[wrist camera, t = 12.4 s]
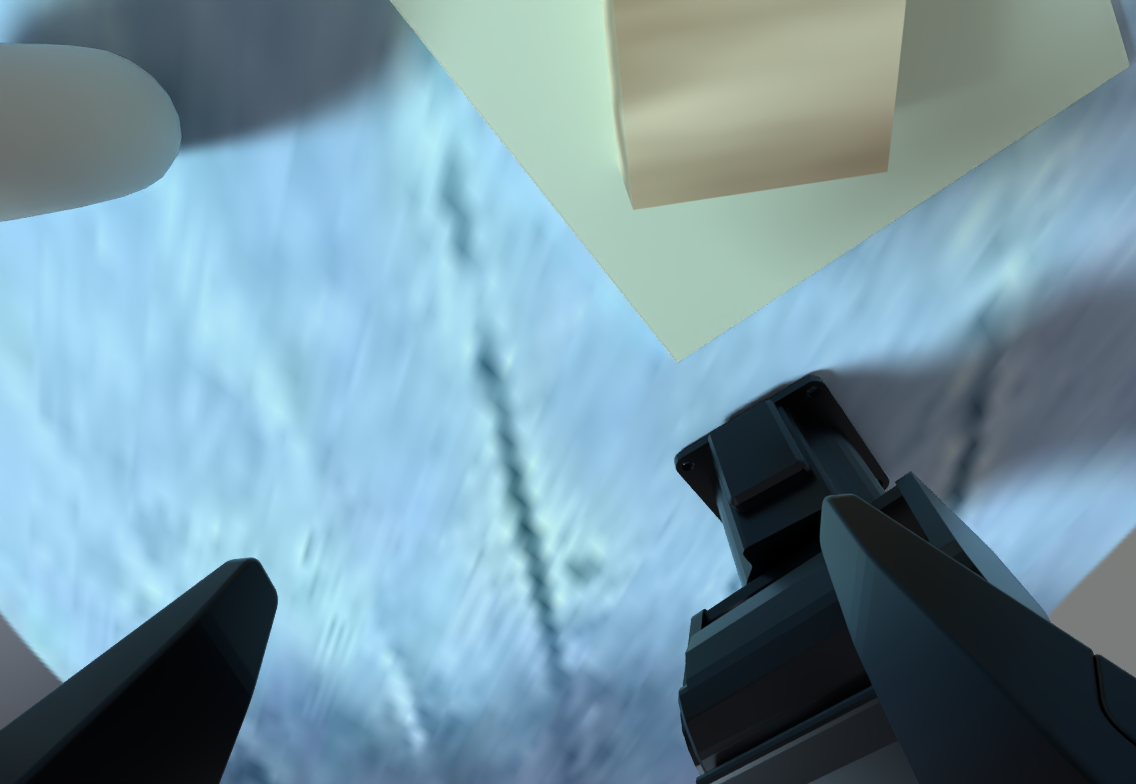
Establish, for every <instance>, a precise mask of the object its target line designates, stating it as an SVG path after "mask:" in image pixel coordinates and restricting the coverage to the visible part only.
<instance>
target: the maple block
mask: <svg viewBox="0 0 1136 784" xmlns="http://www.w3.org/2000/svg"><path fill="white" fill-rule="evenodd" d="M601 5H602V15H603V24H604V34H605V44H606V53H607V63H608V72H609V82H610V92H611V101H612V111H613V121H614V130H615V140H616V150H617V159H618V168H619V170H620V173H621V176H622V179H623V182H624V185H625V188H626V191H627V194H628V197H629V199H630V202H631V205H632V208H633V210H636V209H643V208H650V207H656V206H663V205H670V204H676V203H683V202H690V201H696V200H703V199H710V198H716V197H723V196H730V195H736V194H743V193H750V192H757V191H763V190H770V189H777V188H783V187H790V186H797V185H803V184H810V183H817V182H823V181H830V180H837V179H843V178H850V177H857V176H863V175H870V174H877V173H883V172H888V163H889V154H890V145H891V136H892V126H893V117H894V108H895V99H896V90H897V81H898V72H899V63H900V53H901V44H902V35H903V26H904V17H905V8H906V0H601Z"/></svg>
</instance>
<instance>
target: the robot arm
mask: <svg viewBox="0 0 1136 784" xmlns="http://www.w3.org/2000/svg"><path fill="white" fill-rule="evenodd" d="M811 387H816V390H814V391H813V392H811V393H807V390H808V389H809V388H811ZM686 461H692V463H691V464H689V465H683V463H684V462H686ZM674 463H675V467H676V470H677V472H678V473H679V474H680V475H681V476H682V477H683V479H684V480H685V481H686V482H687V483H688V484H689V485H690V487H691V488H692V489H693V490H694V491H695V492H696V493H697V495H698V496H699V497H700V498H701V499H702V500H703V501H704V502H705V504H706V505H707V506H708V507H709V508H710V509H711V510H712V512H713V513H714V514H715V515H716V516H717V517H718V518H719V520H720V521H721V522H722V523H723V526H724V529H725V532H726V536H727V539H728V542H729V545H730V549H731V552H732V555H733V558H734V562H735V565H736V568H737V571H738V575H739V578H740V581H741V585H742V588H741V589H739V590H738V591H736V592H735V593H733V594H732V595H730V596H729V597H727V598H726V599H724V600H723V601H721V602H720V603H718V604H717V605H715V606H714V607H712V608H711V609H709V610H708V611H707V610H706V609H703V610H702V611H700V612H699V613H697V614H696V615H694V616H693V617H692V618H691V626H690V634H689V642H688V648H687V650H686V653H685V655H686V665H685V673H684V681H683V687H681V688H680V690H679V698H678V703H679V707H680V711H681V713H680V717H681V723H682V732H683V735H684V737H685V740H686V744H687V747H688V750H689V752H690V755H691V757H692V759H693V762H694V764H695V766H696V768H697V770H698V772H699V774H700V776H698V777H697V779H696V784H1136V678H1135V677H1134V676H1132V675H1131V674H1129V673H1127V672H1126V671H1124V670H1123V669H1121V668H1120V667H1118V666H1117V665H1115V664H1114V663H1112V662H1111V661H1109V660H1108V659H1106V658H1105V657H1103V656H1102V655H1098V654H1096V655H1094V654H1093V651H1092V650H1091V649H1090V648H1089V647H1087V646H1086V645H1084V644H1083V643H1081V642H1080V641H1078V640H1077V639H1075V638H1073V637H1072V636H1071V635H1069V634H1068V633H1066V632H1064V631H1063V630H1061V629H1060V628H1058V627H1056V626H1055V625H1054V624H1052V623H1051V622H1050V620H1049V618H1048V616H1047V615H1046V613H1045V611H1044V610H1043V609H1042V607H1041V606H1040V605H1039V604H1038V603H1037V602H1036V600H1035V599H1034V598H1033V597H1032V596H1031V595H1030V593H1029V592H1028V591H1027V590H1026V589H1025V588H1024V587H1023V585H1022V584H1021V583H1020V582H1019V581H1018V580H1017V578H1016V577H1015V576H1014V575H1013V574H1012V573H1011V572H1010V570H1009V569H1008V568H1007V567H1006V566H1005V565H1004V563H1003V562H1002V561H1001V560H1000V559H999V558H998V556H997V555H996V554H995V553H994V552H993V551H992V550H991V549H990V548H989V547H988V546H987V545H986V544H985V543H984V542H983V541H982V540H981V539H980V538H979V537H978V536H977V535H976V534H975V533H974V532H973V531H972V530H971V529H970V528H969V527H968V526H967V525H966V524H965V523H964V522H963V521H962V520H961V519H960V518H958V517H957V516H956V515H955V514H954V513H953V512H952V511H951V510H950V509H949V508H948V507H947V506H946V505H945V504H944V503H943V502H942V501H941V500H940V499H939V498H938V497H937V496H936V495H935V494H934V493H933V492H932V491H931V490H930V489H929V488H928V487H927V486H926V485H924V484H923V483H922V482H921V481H920V480H919V479H918V478H917V477H916V476H915V475H914V474H913V473H912V472H909V473H908V474H906V475H905V476H903V477H902V478H900V479H899V480H897V481H896V482H895V483H896V486H895V487H893V488H892V489H890V490H889V491H887V492H885V491H884V490H885V489H886V488H887V487H888V485H889V479H888V477H887V476H886V474H885V473H884V471H883V470H882V468H881V467H880V465H879V464H878V462H877V461H876V459H875V458H874V456H873V455H872V453H871V452H870V451H869V449H868V448H867V446H866V445H865V443H864V442H863V440H862V439H861V437H860V436H859V434H858V433H857V431H856V430H855V428H854V427H853V425H852V424H851V422H850V421H849V419H848V418H847V416H846V415H845V413H844V412H843V410H842V409H841V407H840V406H839V404H838V403H837V401H836V400H835V398H834V397H833V395H832V394H831V392H830V391H829V389H828V388H827V386H826V385H825V384H824V382H823V381H822V380H821V379H820V378H819V377H817V376H807V377H805V378H803V379H801V380H799V381H798V382H796V383H794V384H793V385H791V386H789V387H788V388H786V389H784V390H783V391H781V392H779V393H778V394H776V395H774V396H773V397H771V398H769V399H768V400H766V401H762V402H760V403H759V404H757V405H755V406H754V407H752V408H750V409H749V410H747V411H745V412H744V413H742V414H740V415H739V416H737V417H735V418H734V419H732V420H730V421H729V422H727V423H725V424H724V425H722V426H720V427H719V428H717V429H715V430H714V431H712V432H711V433H710V434H709V435H707V436H706V437H704V438H702V439H701V440H699V441H697V442H696V443H694V444H692V445H691V446H689V447H687V448H686V449H684V450H682V451H681V452H679V453H678V454H677V455H676V457H675V459H674ZM877 479H878V480H877ZM277 605H278V596H277V592H276V589H275V587H274V586H273V584H272V582H271V580H270V579H269V577H268V575H267V573H266V572H265V570H264V568H263V566H262V565H261V563H260V562H259V561H258V560H257V559H255V558H241V559H233V560H229V561H227V562H226V563H224V564H223V565H221V566H220V567H219V568H217V569H216V570H215V571H213V572H212V573H211V574H209V575H208V576H207V577H205V578H204V579H203V580H201V581H200V582H199V583H197V584H196V585H195V586H193V587H192V588H190V589H189V590H188V591H186V592H185V593H184V594H182V595H181V596H180V597H178V598H177V599H176V600H174V601H173V602H172V603H170V604H169V605H168V606H166V607H165V608H164V609H162V610H161V611H160V612H158V613H157V614H156V615H154V616H153V617H152V618H150V619H149V620H147V621H146V622H145V623H143V624H142V625H141V626H139V627H138V628H137V629H135V630H134V631H133V632H131V633H130V634H129V635H127V636H126V637H125V638H123V639H122V640H121V641H119V642H118V643H117V644H115V645H114V646H113V647H111V648H110V649H108V650H107V651H106V652H104V653H103V654H102V655H100V656H99V657H98V658H96V659H95V660H94V661H92V662H91V663H90V664H88V665H87V666H86V667H84V668H83V669H82V670H80V671H79V672H78V673H76V674H75V675H74V676H72V677H71V678H69V679H68V680H67V681H65V682H64V683H63V684H61V685H60V686H59V687H57V688H56V689H55V690H53V691H52V692H51V693H49V694H48V695H47V696H45V697H44V698H43V699H41V700H40V701H39V702H37V703H36V704H35V705H33V706H32V707H31V708H29V709H28V710H26V711H25V712H24V713H22V714H21V715H20V716H18V717H17V718H16V719H14V720H13V721H12V722H10V723H9V724H8V725H6V726H5V727H4V728H2V729H1V730H0V784H219V783H220V781H221V778H222V775H223V773H224V770H225V768H226V765H227V762H228V760H229V757H230V755H231V752H232V749H233V747H234V744H235V741H236V739H237V736H238V734H239V731H240V728H241V726H242V723H243V721H244V718H245V715H246V713H247V710H248V707H249V704H250V701H251V699H252V695H253V692H254V689H255V686H256V682H257V679H258V675H259V671H260V668H261V664H262V661H263V657H264V653H265V650H266V646H267V642H268V639H269V635H270V631H271V628H272V624H273V621H274V617H275V613H276V610H277Z"/></svg>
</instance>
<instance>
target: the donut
mask: <svg viewBox="0 0 1136 784" xmlns="http://www.w3.org/2000/svg"><path fill="white" fill-rule="evenodd" d="M181 138H182V135H181V128H180V121H179V115H178V113H177V111H176V109H175V107H174V105H173V103H172V101H171V99H170V97H169V95H168V94H167V92H166V91H165V90H164V89H163V88H162V87H161V85H160V84H159V83H158V82H157V81H156V80H155V79H154V77H153V76H152V75H150V74H149V73H147V72H146V71H145V70H143V69H142V68H140V67H139V66H138V65H136V64H135V63H133V62H132V61H131V60H128V59H126V58H123V57H121V56H118V55H116V54H114V53H111V52H109V51H106V50H101V49H95V48H87V47H80V46H72V45H55V44H23V43H0V222H2V221H9V220H15V219H20V218H26V217H31V216H36V215H42V214H47V213H53V212H58V211H63V210H69V209H74V208H79V207H84V206H88V205H92V204H96V203H100V202H104V201H108V200H112V199H116V198H120V197H124V196H126V195H129V194H132V193H134V192H137V191H139V190H142V189H145V188H147V187H148V186H150V185H151V184H153V183H155V182H156V181H158V180H159V179H161V178H162V177H163V176H164V175H165V173H166V172H167V170H168V169H169V167H170V166H171V164H172V163H173V161H174V160H175V158H176V157H177V155H178V152H179V147H180V142H181Z"/></svg>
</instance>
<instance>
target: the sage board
mask: <svg viewBox="0 0 1136 784" xmlns="http://www.w3.org/2000/svg"><path fill="white" fill-rule="evenodd" d="M390 1H391V3H392V4H393V5H394V7H395V8H396V9H397V10H398V12H399V13H400V14H401V15H402V17H403V18H404V19H405V20H406V22H407V23H408V24H409V25H410V27H411V28H412V29H413V30H414V32H415V33H416V34H417V36H418V37H419V38H420V39H421V41H422V42H423V43H424V44H425V46H426V47H427V48H428V49H429V51H430V52H431V53H432V54H433V56H434V57H435V58H436V60H437V61H438V62H439V63H440V65H441V66H442V67H443V68H444V70H445V71H446V72H447V73H448V75H449V76H450V77H451V78H452V80H453V81H454V82H455V83H456V85H457V86H458V87H459V89H460V90H461V91H462V92H463V94H464V95H465V96H466V97H467V99H468V100H469V101H470V102H471V104H472V105H473V106H474V107H475V109H476V110H477V111H478V112H479V114H480V115H481V116H482V118H483V119H484V120H485V121H486V123H487V124H488V125H489V126H490V128H491V129H492V130H493V131H494V133H495V134H496V135H497V136H498V138H499V139H500V140H501V141H502V143H503V144H504V145H505V147H506V148H507V149H508V150H509V152H510V153H511V154H512V155H513V157H514V158H515V159H516V160H517V162H518V163H519V164H520V165H521V167H522V168H523V169H524V170H525V172H526V173H527V174H528V176H529V177H530V178H531V179H532V181H533V182H534V183H535V184H536V186H537V187H538V188H539V189H540V191H541V192H542V193H543V194H544V196H545V197H546V198H547V199H548V201H549V202H550V203H551V205H552V206H553V207H554V208H555V210H556V211H557V212H558V213H559V215H560V216H561V217H562V218H563V220H564V221H565V222H566V223H567V225H568V226H569V227H570V229H571V230H572V231H573V232H574V234H575V235H576V236H577V237H578V239H579V240H580V241H581V242H582V244H583V245H584V246H585V247H586V249H587V250H588V251H589V252H590V254H591V255H592V256H593V258H594V259H595V260H596V261H597V263H598V264H599V265H600V266H601V268H602V269H603V270H604V271H605V273H606V274H607V275H608V276H609V278H610V279H611V280H612V281H613V283H614V284H615V285H616V287H617V288H618V289H619V290H620V292H621V293H622V294H623V295H624V297H625V298H626V299H627V300H628V302H629V303H630V304H631V305H632V307H633V308H634V309H635V310H636V312H637V313H638V314H639V316H640V317H641V318H642V319H643V321H644V322H645V323H646V324H647V326H648V327H649V328H650V329H651V331H652V332H653V333H654V334H655V336H656V337H657V338H658V339H659V341H660V342H661V343H662V345H663V346H664V347H665V348H666V350H667V351H668V352H669V353H670V355H671V356H672V357H673V358H674V360H675V361H676V362H677V363H678V362H680V361H681V360H683V359H685V358H686V357H688V356H689V355H691V354H692V353H694V352H695V351H697V350H698V349H700V348H701V347H703V346H704V345H706V344H707V343H709V342H710V341H712V340H713V339H715V338H717V337H718V336H720V335H721V334H723V333H724V332H726V331H727V330H729V329H730V328H732V327H733V326H735V325H736V324H738V323H739V322H741V321H742V320H744V319H745V318H747V317H749V316H750V315H752V314H753V313H755V312H756V311H758V310H759V309H761V308H762V307H764V306H765V305H767V304H768V303H770V302H771V301H773V300H774V299H776V298H777V297H779V296H781V295H782V294H784V293H785V292H787V291H788V290H790V289H791V288H793V287H794V286H796V285H797V284H799V283H800V282H802V281H803V280H805V279H806V278H808V277H809V276H811V275H813V274H814V273H816V272H817V271H819V270H820V269H822V268H823V267H825V266H826V265H828V264H829V263H831V262H832V261H834V260H835V259H837V258H838V257H840V256H841V255H843V254H845V253H846V252H848V251H849V250H851V249H852V248H854V247H855V246H857V245H858V244H860V243H861V242H863V241H864V240H866V239H867V238H869V237H870V236H872V235H873V234H875V233H877V232H878V231H880V230H881V229H883V228H884V227H886V226H887V225H889V224H890V223H892V222H893V221H895V220H896V219H898V218H899V217H901V216H902V215H904V214H905V213H907V212H909V211H910V210H912V209H913V208H915V207H916V206H918V205H919V204H921V203H922V202H924V201H925V200H927V199H928V198H930V197H931V196H933V195H934V194H936V193H937V192H939V191H941V190H942V189H944V188H945V187H947V186H948V185H950V184H951V183H953V182H954V181H956V180H957V179H959V178H960V177H962V176H963V175H965V174H966V173H968V172H969V171H971V170H973V169H974V168H976V167H977V166H979V165H980V164H982V163H983V162H985V161H986V160H988V159H989V158H991V157H992V156H994V155H995V154H997V153H998V152H1000V151H1001V150H1003V149H1005V148H1006V147H1008V146H1009V145H1011V144H1012V143H1014V142H1015V141H1017V140H1018V139H1020V138H1021V137H1023V136H1024V135H1026V134H1027V133H1029V132H1030V131H1032V130H1034V129H1035V128H1037V127H1038V126H1040V125H1041V124H1043V123H1044V122H1046V121H1047V120H1049V119H1050V118H1052V117H1053V116H1055V115H1056V114H1058V113H1059V112H1061V111H1062V110H1064V109H1066V108H1067V107H1069V106H1070V105H1072V104H1073V103H1075V102H1076V101H1078V100H1079V99H1081V98H1082V97H1084V96H1085V95H1087V94H1088V93H1090V92H1091V91H1093V90H1094V89H1096V88H1098V87H1099V86H1101V85H1102V84H1104V83H1105V82H1107V81H1108V80H1110V79H1111V78H1113V77H1114V76H1116V75H1117V74H1119V73H1120V72H1122V71H1123V70H1125V69H1126V68H1128V67H1130V64H1129V61H1128V57H1127V54H1126V50H1125V47H1124V44H1123V40H1122V37H1121V33H1120V30H1119V27H1118V23H1117V20H1116V17H1115V13H1114V10H1113V6H1112V3H1111V0H906V8H905V17H904V26H903V35H902V44H901V53H900V63H899V72H898V81H897V90H896V99H895V108H894V117H893V126H892V136H891V145H890V154H889V163H888V172H883V173H877V174H870V175H863V176H857V177H850V178H843V179H837V180H830V181H823V182H817V183H810V184H803V185H797V186H790V187H783V188H777V189H770V190H763V191H757V192H750V193H743V194H736V195H730V196H723V197H716V198H710V199H703V200H696V201H690V202H683V203H676V204H670V205H663V206H656V207H650V208H643V209H636V210H633V208H632V205H631V202H630V199H629V197H628V194H627V191H626V188H625V185H624V182H623V179H622V176H621V173H620V170H619V168H618V159H617V150H616V140H615V130H614V121H613V111H612V101H611V92H610V82H609V72H608V63H607V53H606V44H605V34H604V24H603V15H602V5H601V0H390Z"/></svg>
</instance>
